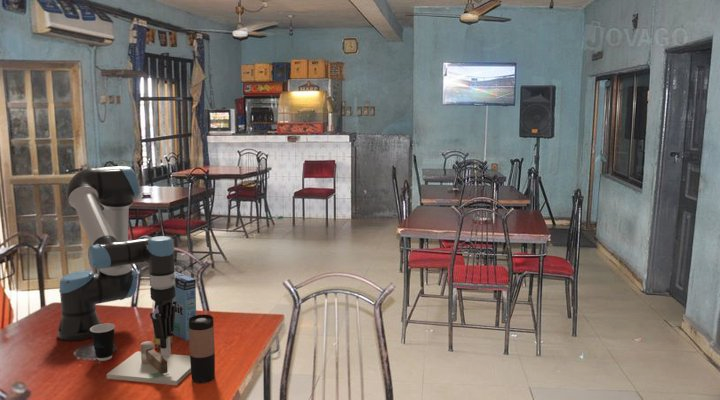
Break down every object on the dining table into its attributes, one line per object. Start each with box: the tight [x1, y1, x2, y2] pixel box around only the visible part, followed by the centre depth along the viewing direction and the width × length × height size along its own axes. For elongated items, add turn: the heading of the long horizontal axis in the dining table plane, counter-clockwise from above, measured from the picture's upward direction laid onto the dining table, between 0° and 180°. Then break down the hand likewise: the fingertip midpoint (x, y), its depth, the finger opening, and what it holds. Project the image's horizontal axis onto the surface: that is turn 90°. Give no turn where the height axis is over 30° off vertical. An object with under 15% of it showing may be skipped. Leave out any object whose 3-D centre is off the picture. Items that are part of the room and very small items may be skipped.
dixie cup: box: [90, 322, 116, 362], centre depth 202 cm, size 8×8×11 cm
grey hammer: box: [140, 340, 168, 374], centre depth 191 cm, size 17×4×6 cm, turn 39°
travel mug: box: [188, 314, 216, 384], centre depth 187 cm, size 8×8×20 cm
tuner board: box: [106, 350, 191, 386], centre depth 194 cm, size 24×18×2 cm
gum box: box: [172, 271, 197, 342], centre depth 224 cm, size 20×5×23 cm, turn 47°
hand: (165, 356), depth 190 cm, fingers closed
